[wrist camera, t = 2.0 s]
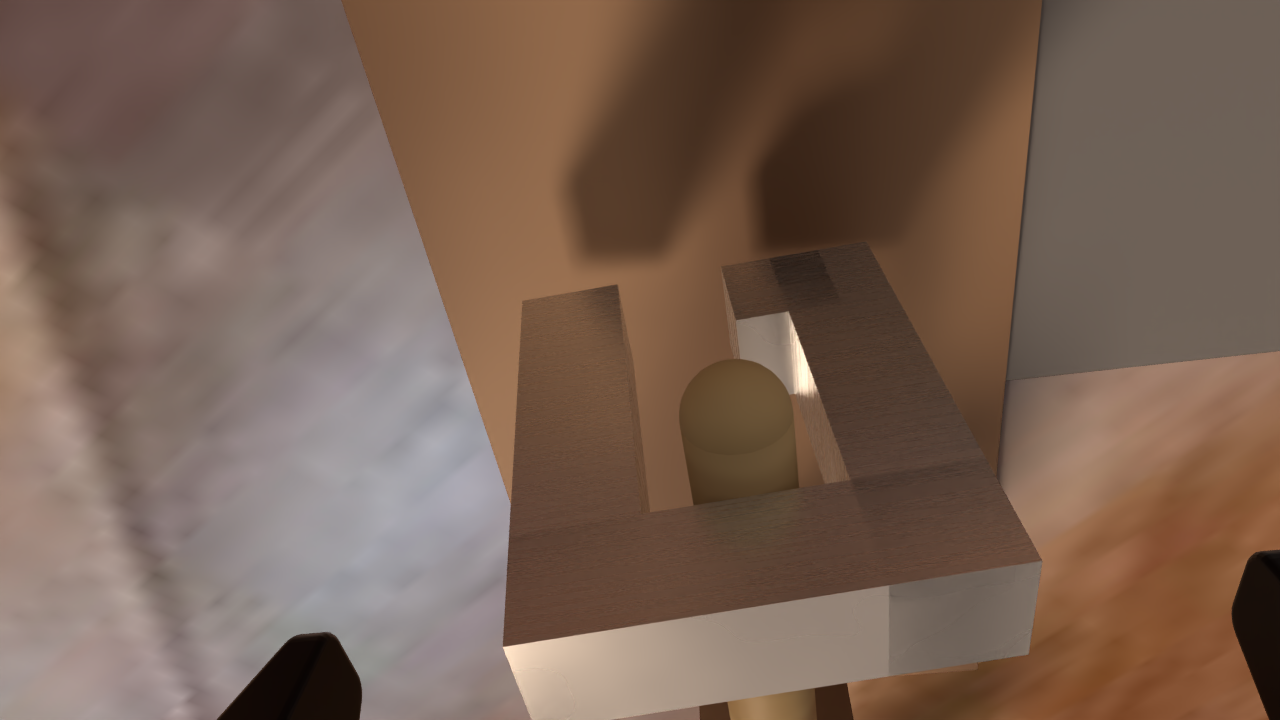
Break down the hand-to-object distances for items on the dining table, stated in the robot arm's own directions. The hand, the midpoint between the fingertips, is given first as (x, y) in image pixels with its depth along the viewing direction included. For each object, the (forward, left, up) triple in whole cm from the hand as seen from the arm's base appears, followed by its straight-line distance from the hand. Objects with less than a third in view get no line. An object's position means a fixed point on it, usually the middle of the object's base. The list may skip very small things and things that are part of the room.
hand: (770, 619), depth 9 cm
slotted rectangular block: (+1, 0, -6) cm, 6 cm away
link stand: (0, +3, -7) cm, 8 cm away
